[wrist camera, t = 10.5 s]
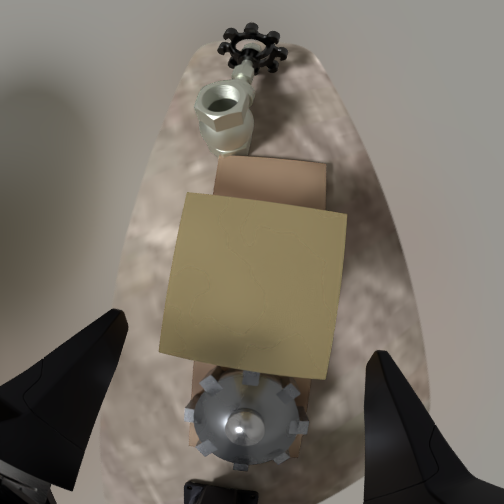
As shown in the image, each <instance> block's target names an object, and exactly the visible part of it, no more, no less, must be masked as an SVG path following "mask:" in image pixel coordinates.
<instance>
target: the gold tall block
mask: <svg viewBox="0 0 504 504" xmlns="http://www.w3.org/2000/svg"><path fill="white" fill-rule="evenodd" d="M346 225H347V214H343V213H337V212H332V211H326V210H319V209H313V208H307V207H300V206H294V205H287V204H280V203H273V202H266V201H258V200H251V199H243V198H235V197H226V196H218V195H209V194H199V193H190V192H187V195H186V199H185V203H184V208H183V212H182V217H181V221H180V226H179V231H178V236H177V241H176V246H175V251H174V256H173V261H172V267H171V272H170V278H169V284H168V290H167V296H166V302H165V309H164V315H163V322H162V329H161V337H160V345H159V352H160V353H164V354H168V355H172V356H176V357H180V358H185V359H189V360H194V361H198V362H203V363H208V364H213V365H218V366H224V367H229V368H235V369H241V370H247V371H253V372H260V373H267V374H274V375H282V376H291V377H300V378H310V379H322V380H325V379H326V374H327V369H328V364H329V358H330V353H331V347H332V342H333V336H334V329H335V323H336V316H337V309H338V302H339V295H340V287H341V278H342V270H343V260H344V250H345V238H346Z"/></svg>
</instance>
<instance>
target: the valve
mask: <svg viewBox="0 0 504 504" xmlns="http://www.w3.org/2000/svg"><path fill="white" fill-rule="evenodd" d="M223 38H224V39H225V40H226V39H228V38H229V39H230V40H231V42H230V43H228V42H222V43H221V44H220V46H219V48H218V50H217V51H218V53H219V54H221V55H224V54H225V52H230V54H231V56H232V57H230V59H229V62H228V66H229V67H230V68H232V69H234V71H233V73H232V80H223V81H218V82H214V83H211V84H209V85H206V86H204V87H202V89H201V90H200V92H199V94H198V96H197V99H196V102H195V105H194V109H195V112H196V114H197V117H198V120H199V130H200V133H201V135H202V137H203V139H204V140H205V142H206V143H207V145H208V148H209V151H210V152H211V153H212V154H214V155H215V156H216V157H218V158H219V155H221V156H222V157H224V158H225V157H228V156H248V152H249V148H250V144H251V141H252V132H253V129H254V119H253V115H252V113H251V111H250V109H249V107H250V106H251V105H252V104H253V101H254V97H255V90H254V89H253V87H252V86H251V84H252V81H253V78H254V75H257V74H258V72H259V69H260V67H264V66H267V67H268V72H270V73H275V72H277V71H278V67H279V63H278V62H277V61H276V60H274V59H275V57H280V58H281V59H280V61H283V60H286V58H287V55H288V50H287V49H286V48H284V47H279V48H278V47H276V46H275V44H278V42H279V39H280V34H279V33H278V32H276V31H270V32H269V33H268V34H267V35H263V34H260V33H258V25H257V24H255V23H248V24H247V25H246V27H245V29H244V32H243V33H238V32H237V30H236V29H234V28H228V29H227V30H226V31H225V33H224V35H223ZM244 39H254V40H258V41H260V42H262V43H264V44H265V45H266V48H265V49H264V50H263V51H262V52H261V47H260V46H259V45H257V44H255V43H249V44H246V45H244V48H243V49H242V50H241V51H239V50H237V49H236V44H237V43H238V42H239V41H241V40H244ZM274 43H275V44H274ZM269 54H270V55H269ZM268 55H269V56H268ZM267 56H268V57H267ZM265 57H267V58H265ZM263 58H265V59H263ZM260 59H262V60H260Z"/></svg>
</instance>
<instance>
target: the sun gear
mask: <svg viewBox="0 0 504 504" xmlns="http://www.w3.org/2000/svg"><path fill="white" fill-rule="evenodd" d="M199 384H200V385H201V386H202V387H203V388H204V390H205V391H204V392H203V394H202V395H201V396H200V395H195V396H194V397H193V398H192V400H191V401H190V402H189V404H188V405H187V406H186V407H185V416H184V421H187V422H192V423H194V427H195V431H196V433H197V435H198V437H199V440H198V442H197V444H196V446H195V447H196V448H197V449H198V450H199V451H200V452H201V453H202V454H203V455H204V456H207V455H209V454H211V453H213V454H214V455H216V456H217V457H219V458H221V459H223V460H226V461H229V462H232V463H234V466H233V470H240V471H248V465H251V464H260V463H264V462H267V461H270V460H273V461H274V462H276V463H277V464H278V465H279V464H280V463H282V462H284V461H285V460H287V459H288V458H290V454H289V447H290V446H291V444H292V443H293V441H294V440H295V438H296V436H297V434H307V431H308V425H309V420H308V417H307V414H306V412H305V409H304V406H296V403H295V400H294V399H295V398H296V397H297V396H299V395H300V394H301V393H300V390H299V388H298V385H297V383H296V381H295V380H294V379H293V377H291V376H281V377H280V376H278V375H274V374H267V373H260V372H253V371H247V370H241V369H235V368H231V369H228V370H226V371H223V369H222V368H221V367H220V366H218V365H217V366H216V367H215V368H213V369H212V370H210V371H209V372H208V373H207V374H206V375H205V377H204V378H203V379H202V380H201V381H200V382H199Z"/></svg>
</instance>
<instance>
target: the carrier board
mask: <svg viewBox="0 0 504 504" xmlns="http://www.w3.org/2000/svg"><path fill="white" fill-rule="evenodd" d="M213 195H218V196H226V197H235V198H243V199H251V200H258V201H266V202H273V203H280V204H287V205H294V206H300V207H307V208H313V209H319V210H326V164H323V163H315V162H306V161H297V160H287V159H276V158H263V157H249V156H228V157H225V158H224V157H222V156H221V155H219V160H218V166H217V172H216V179H215V185H214V192H213ZM216 366H217V365H213V364H208V363H203V362H198V361H194V365H193V379H192V394H191V400H192V398H193V397H194V396H195V395H200V396H201V395H202V394H203V392H204V391H205V390H204V388H203V387H202V386H201V385H200V384H199V382H200V381H201V380H202V379H203V378H204V377H205V375H206V374H207V373H208V372H209V371H210V370H212V369H213V368H215V367H216ZM220 367H221V368H222V369H223V371H226V370H228V369H231V368H229V367H224V366H220ZM278 376H280V377H281V376H282V375H278ZM293 379H294V380H295V381H296V383H297V385H298V388H299V390H300V393H301V394H300V395H299V396H297V397H296V398H295V399H294V400H295V403H296V406H304V409H305V412H307V406H308V399H309V393H310V386H311V379H310V378H300V377H293ZM302 435H303V434H297V436H296V438H295V440H294V441H293V443H292V444H291V446H290V447H289V454H290V457H291V458H298V455H299V450H300V445H301V440H302ZM198 440H199V437H198V435H197V433H196V431H195V427H194V423H192V422H190V431H189V446H193V447H195V446H196V444H197V442H198Z"/></svg>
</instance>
